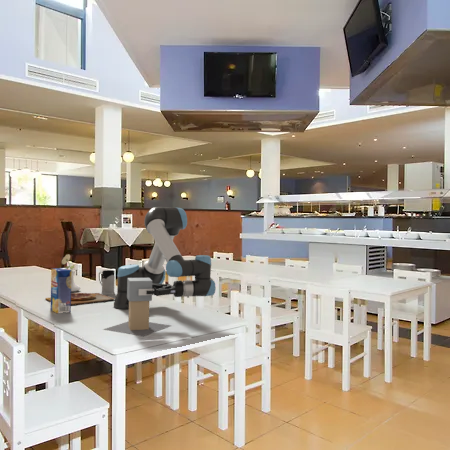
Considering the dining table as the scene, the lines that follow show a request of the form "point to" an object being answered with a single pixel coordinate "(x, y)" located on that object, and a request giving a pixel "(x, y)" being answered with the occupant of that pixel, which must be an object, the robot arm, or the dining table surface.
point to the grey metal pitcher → (107, 282)
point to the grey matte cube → (134, 287)
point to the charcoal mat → (125, 329)
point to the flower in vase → (73, 285)
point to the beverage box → (61, 290)
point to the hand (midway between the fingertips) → (136, 289)
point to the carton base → (138, 315)
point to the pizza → (87, 298)
